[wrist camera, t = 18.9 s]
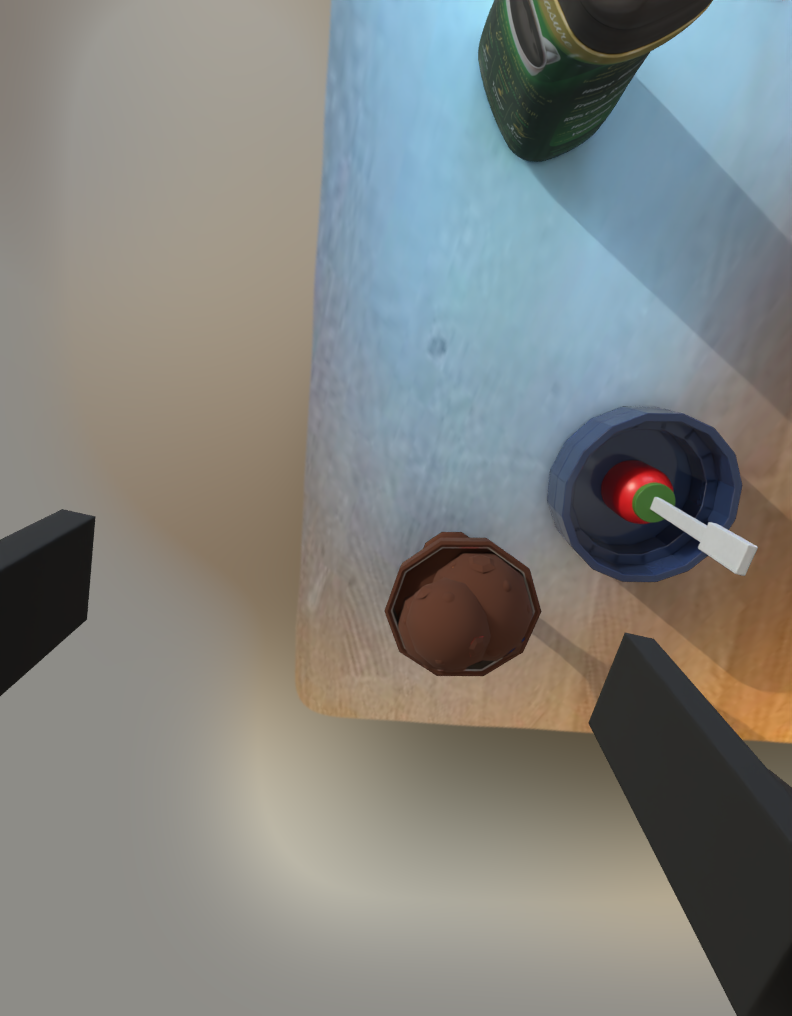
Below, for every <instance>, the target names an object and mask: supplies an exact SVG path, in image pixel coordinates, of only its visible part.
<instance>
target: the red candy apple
mask: <svg viewBox="0 0 792 1016" xmlns="http://www.w3.org/2000/svg"><path fill="white" fill-rule="evenodd" d="M601 495H602V498H603V501H604V502H605V504H606V505H607V506H608V507H609V508H610V509H611V510H612V511H614V512H615V513H616V514H617V515H619V516H620V517H621V518H623V519H624V520H626V521H628V522H632V523H636V524H647V523H654V522H659V521H662V520H664V519H666V520H667V521H669V522H670V523H672V524H673V525H675V526H677V527H678V528H680V529H681V530H683V531H684V532H686V533H687V534H689V535H690V536H692V537H693V538H695V539H696V540H698V541H699V542H700V544H699V546H698V549H700V550H701V551H703V552H704V553H706V554H707V555H708V556H710V557H711V558H713V559H714V560H716V561H717V562H719V563H720V564H722V565H723V566H725V567H726V568H728V569H729V570H730V571H732V572H733V573H735V574H738V575H742V576H745V575H746V572H747V570H748V568H749V566H750V564H751V561H752V559H753V557H754V555H755V553H756V551H757V548H758V547H757V546H756V545H754V544H752V543H750V542H749V541H747V540H745V539H743V538H741V537H740V536H738V535H736V534H734V533H733V532H731V531H729V530H727V529H725V528H724V527H722V526H720V525H718V524H716V523H712V522H709V523H708V525H705V524H704V523H702V522H700V521H698V520H697V519H695V518H693V517H692V516H690V515H688V514H687V513H685V512H683V511H681V510H680V509H678V508H676V507H675V495H674V490H673V486H672V484H671V482H670V480H669V478H668V477H667V476H666V475H665V474H664V473H663V472H661V471H660V470H658V469H656V468H654V467H652V466H650V465H648V464H646V463H644V462H641V461H637V460H627V461H623V462H621V463H619V464H617V465H615V466H614V467H612V468H611V469H610V470H609V471H608V472H607V474H606V475H605V477H604V479H603V482H602V486H601Z"/></svg>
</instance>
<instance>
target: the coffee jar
mask: <svg viewBox="0 0 792 1016" xmlns="http://www.w3.org/2000/svg"><path fill="white" fill-rule="evenodd" d="M712 1H713V0H494V3H493V5H492V7H491V9H490V12H489V15H488V17H487V20H486V23H485V26H484V29H483V32H482V36H481V39H480V43H479V50H478V60H479V66H480V72H481V77H482V80H483V84H484V88H485V92H486V95H487V98H488V101H489V104H490V107H491V110H492V112H493V115H494V117H495V120H496V123H497V125H498V127H499V129H500V131H501V134H502V135H503V138H504V139H505V141H506V143H507V145H508V147H509V148H510V149H511V150H512V152H513V153H514V154H516V155H517V156H518V157H520V158H522V159H524V160H527V161H533V162H538V161H544V160H548V159H551V158H554V157H556V156H559V155H561V154H563V153H565V152H568V151H569V150H571V149H573V148H575V147H577V146H578V145H580V144H581V143H583V142H584V141H586V140H587V139H588V138H590V137H591V136H592V135H593V134H594V133H595V132H596V131H597V130H598V129H599V127H600V126H601V125H602V124H603V122H604V121H605V120H606V118H607V117H608V115H609V114H610V113H611V111H612V110H613V108H614V107H615V105H616V104H617V102H618V100H619V99H620V97H621V95H622V94H623V92H624V91H625V89H626V87H627V86H628V84H629V83H630V81H631V79H632V78H633V76H634V75H635V73H636V72H637V70H638V69H639V67H640V66H641V64H642V63H643V62H644V60H645V59H646V57H647V56H648V54H649V53H650V51H652V50H654V49H655V48H657V47H659V46H661V45H663V44H664V43H666V42H668V41H669V40H671V39H672V38H673V37H675V36H676V35H678V34H679V33H680V32H682V31H683V30H684V29H686V28H687V27H688V26H689V25H691V24H692V23H693V22H694V21H695V20H696V19H697V18H698V17H699V16H700V15H701V14H702V13H703V12H704V11H705V10H706V9H707V8H708V7H709V5H710V4H711V3H712Z"/></svg>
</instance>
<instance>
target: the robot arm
mask: <svg viewBox="0 0 792 1016" xmlns="http://www.w3.org/2000/svg"><path fill="white" fill-rule="evenodd" d="M94 527H95V516H90V515H86V514H82V513H77V512H72V511H68V510H63V509H62V510H60V511H58V512H56V513H54V514H52V515H50V516H48V517H45V518H44V519H41V520H39V521H37V522H35V523H33V524H31V525H29V526H27V527H25V528H23V529H21V530H19V531H17V532H15V533H13V534H11V535H9V536H7V537H5V538H3V539H1V540H0V696H1V695H2V694H3V693H4V692H6V690H8V689H9V688H10V687H11V686H12V685H13V684H15V683H16V682H17V681H18V680H19V679H20V678H21V677H22V676H24V675H25V674H26V673H27V672H28V671H29V670H30V669H31V668H33V667H34V666H35V665H36V664H37V663H38V662H39V661H41V660H42V659H43V658H44V657H45V656H46V655H47V654H48V653H49V652H51V651H52V650H53V649H54V648H55V647H56V646H57V645H58V644H60V643H61V642H62V641H63V640H64V639H65V638H66V637H68V636H69V635H70V634H71V633H72V632H73V631H74V630H75V629H77V628H78V627H79V626H80V625H81V624H82V623H83V622H85V621H86V620H87V612H88V599H89V588H90V574H91V563H92V551H93V539H94ZM589 725H590V727H591V729H592V731H593V733H594V735H595V737H596V739H597V741H598V743H599V745H600V747H601V749H602V751H603V753H604V755H605V757H606V759H607V761H608V762H609V764H610V766H611V768H612V770H613V772H614V774H615V776H616V778H617V780H618V782H619V784H620V786H621V788H622V790H623V792H624V794H625V796H626V798H627V800H628V802H629V804H630V806H631V808H632V810H633V812H634V814H635V816H636V818H637V820H638V822H639V824H640V826H641V828H642V829H643V832H644V833H645V835H646V837H647V839H648V841H649V843H650V845H651V847H652V849H653V851H654V853H655V855H656V857H657V859H658V861H659V863H660V865H661V867H662V869H663V871H664V873H665V875H666V877H667V879H668V881H669V883H670V885H671V887H672V889H673V891H674V893H675V895H676V896H677V899H678V901H679V902H680V904H681V906H682V908H683V910H684V912H685V914H686V916H687V918H688V920H689V922H690V924H691V926H692V928H693V930H694V932H695V934H696V936H697V938H698V940H699V942H700V944H701V946H702V948H703V950H704V952H705V953H706V956H707V958H708V960H709V962H710V963H711V966H712V968H713V969H714V971H715V973H716V975H717V977H718V979H719V981H720V983H721V985H722V987H723V989H724V991H725V993H726V995H727V997H728V999H729V1001H730V1003H731V1005H732V1007H733V1009H734V1011H735V1013H736V1015H737V1016H792V787H790V786H789V785H788V784H787V783H785V782H784V781H783V780H782V779H780V778H779V777H778V776H777V775H775V774H774V773H773V772H771V771H770V770H768V769H767V768H766V767H765V765H763V763H762V762H761V761H760V760H759V759H758V757H757V756H756V755H755V754H754V753H753V752H752V751H751V750H750V748H749V747H748V746H747V745H746V744H745V743H744V742H743V740H742V739H741V738H740V737H739V736H738V735H737V733H736V732H735V731H734V730H733V729H732V728H731V727H730V725H729V724H728V723H727V722H726V721H725V720H724V719H723V717H722V716H721V715H720V714H719V713H718V712H717V711H716V709H715V708H714V707H713V706H712V705H711V704H710V703H709V701H708V700H707V699H706V698H705V697H704V696H703V695H702V693H701V692H700V691H699V690H698V689H697V688H696V687H695V685H694V684H693V683H692V682H691V681H690V680H689V679H688V677H687V676H686V675H685V674H684V673H683V672H682V671H681V669H680V668H679V667H678V666H677V665H676V664H675V663H674V661H673V660H672V659H671V658H670V657H669V656H668V655H667V653H666V652H665V651H664V650H663V649H662V648H661V647H660V645H659V644H658V643H657V642H656V641H655V640H654V639H652V638H647V637H643V636H638V635H634V634H629V633H625V634H624V636H623V639H622V641H621V644H620V646H619V649H618V651H617V654H616V656H615V659H614V661H613V664H612V666H611V669H610V671H609V674H608V676H607V679H606V681H605V683H604V686H603V688H602V691H601V693H600V696H599V698H598V701H597V703H596V706H595V708H594V711H593V713H592V716H591V718H590V721H589Z"/></svg>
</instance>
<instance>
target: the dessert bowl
mask: <svg viewBox="0 0 792 1016" xmlns="http://www.w3.org/2000/svg"><path fill="white" fill-rule="evenodd" d="M627 460H637V461H641V462H644V463H646V464H648V465H650V466H652V467H654V468H656V469H658V470H660V471H661V472H663V473H664V474H665V475H666V476H667V477H668V478H669V480H670V482H671V484H672V486H673V490H674V495H675V507H676V508H678V509H680V510H681V511H683V512H685V513H687V514H688V515H690V516H692V517H693V518H695V519H697V520H698V521H700V522H702V523H704V524H705V525H708V523H709V522H712V523H716V524H718V525H720V526H722V527H724V528H725V529H727V530H729V529H730V527H731V526H732V524H733V523H734V521H735V519H736V515H737V510H738V505H739V500H740V495H741V490H742V481H741V477H740V472H739V468H738V463H737V459H736V454H735V453H734V452H733V450H732V449H731V448H730V447H729V445H728V444H727V443H726V442H725V440H724V439H723V438H722V437H721V435H720V434H719V433H718V432H717V431H716V429H715V428H714V427H711V426H709V425H707V424H705V423H703V422H701V421H698V420H696V419H694V418H692V417H690V416H688V415H685V414H683V413H679V412H675V411H670V410H666V409H662V408H658V407H632V406H623V407H620V408H618V409H615V410H612V411H610V412H607V413H605V414H602V415H599V416H597V417H594V418H592V419H590V420H589V421H588V422H587V423H586V424H584V425H583V426H582V427H581V428H580V429H579V430H578V431H577V432H575V433H574V434H573V435H572V436H571V437H570V438H569V439H568V440H566V442H565V443H564V445H563V447H562V449H561V451H560V453H559V455H558V456H557V458H556V460H555V462H554V464H553V466H552V468H551V470H550V477H549V487H548V497H547V501H548V505H549V508H550V511H551V514H552V517H553V520H554V523H555V526H556V529H557V530H558V531H559V533H560V534H561V535H562V536H563V537H564V538H565V540H566V541H567V542H568V543H569V544H570V545H571V547H572V548H573V549H574V550H575V551H576V552H577V553H578V554H579V555H580V556H581V557H582V558H583V559H584V561H585V562H586V563H587V564H588V565H589V566H590V567H591V568H592V569H593V570H596V571H598V572H600V573H603V574H605V575H608V576H610V577H612V578H615V579H617V580H619V581H623V582H658V581H660V580H663V579H666V578H669V577H672V576H675V575H678V574H681V573H684V572H687V571H688V570H690V569H692V568H693V567H694V566H695V565H697V564H698V563H699V562H701V561H702V560H703V559H704V558H706V557H707V556H708V555H707V554H706V553H704V552H703V551H701V550H700V549H698V546H699V544H700V542H699V541H698V540H696V539H695V538H693V537H692V536H690V535H689V534H687V533H686V532H684V531H683V530H681V529H680V528H678V527H677V526H675V525H673V524H672V523H670V522H669V521H667V520H666V519H664V520H662V521H659V522H654V523H647V524H636V523H632V522H628V521H626V520H624V519H623V518H621V517H620V516H619V515H617V514H616V513H615V512H614V511H612V510H611V509H610V508H609V507H608V506H607V505H606V504H605V502H604V501H603V498H602V495H601V486H602V482H603V479H604V477H605V475H606V474H607V472H608V471H609V470H610V469H611V468H612V467H614V466H615V465H617V464H619V463H621V462H623V461H627Z"/></svg>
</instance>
